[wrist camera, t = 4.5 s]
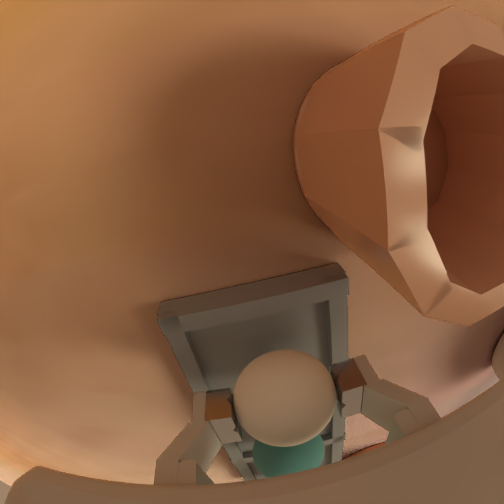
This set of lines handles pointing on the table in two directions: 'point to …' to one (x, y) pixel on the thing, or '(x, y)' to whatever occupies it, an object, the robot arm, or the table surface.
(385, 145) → the tube
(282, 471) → the ball
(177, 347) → the tray
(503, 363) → the cup
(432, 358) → the table surface
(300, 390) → the ball
